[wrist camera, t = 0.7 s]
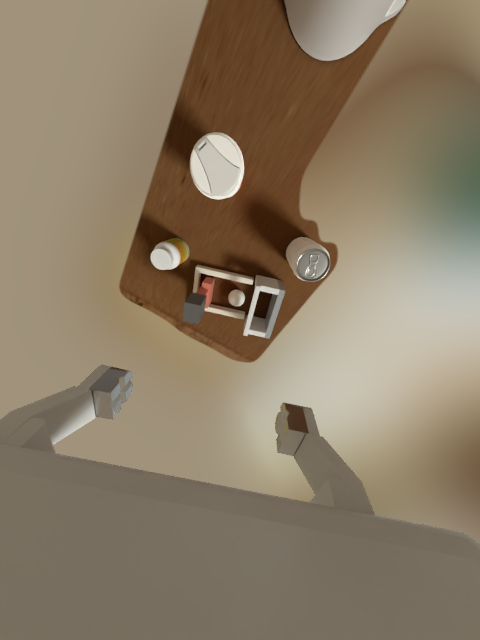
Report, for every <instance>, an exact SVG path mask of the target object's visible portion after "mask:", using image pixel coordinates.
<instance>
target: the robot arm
mask: <svg viewBox="0 0 480 640" xmlns="http://www.w3.org/2000/svg"><path fill="white" fill-rule="evenodd" d="M284 2H285V5H286V10H287V16H288V21H289V24H290V28H291V30H292V33H293V35H294V37H295V39H296V41H297V43H298V44H299V46H300V47H301V48H302V49H303V50H304V51H305V52H306V53H307V54H308V55H310V56H312V57H313V58H316V59H319V60H324V61H331V60H337V59H340V58H342V57H345V56H347V55H348V54H350V53H352V52H353V51H354V50H356V49H357V48H358V47H359V46H360V45H361V44H362V43H363V42H364V41H365V40H366V39H367V38H368V37H369V36H370V34H371V33H372V32H373V31H374V30H375V29H376V28H377V27H378V26H379V25H380V24H382V23H384V22H385V21H387V20H389V19H391V18H392V17H394V16H395V15H396V14H397V13H398V12H399V11H400V10H401V9H402V7H403V5H404V4H405V2H406V0H284ZM131 378H132V372H131V371H127V370H123V369H119V368H114V367H110V366H105V365H101V366H99V367H98V368H97V369H95V370H94V371H93V372H92V373H91V374H90V375H89V376H88V377H87V378H86V379H85V380H84V381H83V382H82V383H81V384H80V385H79V386H78V387H75V386H74V387H71V388H69V389H66V390H64V391H61V392H59V393H56V394H54V395H51V396H49V397H46V398H44V399H41V400H39V401H36V402H34V403H31V404H29V405H26V406H24V407H21V408H19V409H16V410H13V411H11V412H9V413H8V414H7V415H6V416H4V417H3V418H2V419H1V420H0V640H480V543H479V542H477V541H476V540H475V539H474V538H472V537H471V536H469V535H467V534H464V533H462V532H458V531H454V530H449V529H444V528H438V527H433V526H428V525H423V524H418V523H413V522H407V521H402V520H397V519H392V518H386V517H381V516H376V515H375V514H374V511H373V509H372V506H371V504H370V501H369V499H368V496H367V494H366V491H365V489H364V486H363V484H362V482H361V480H360V479H359V478H358V477H357V476H356V475H355V473H354V472H353V471H352V470H351V469H350V468H349V467H348V465H347V464H346V463H345V462H344V461H343V460H342V458H341V457H340V456H339V455H338V454H337V453H336V452H335V450H334V449H333V448H332V447H331V446H330V445H329V444H328V442H327V441H326V440H325V439H324V438H323V437H321V436H320V435H319V431H318V428H317V425H316V421H315V418H314V414H313V411H312V409H311V408H308V407H303V406H298V405H293V404H287V403H283V404H282V405H281V412H279V413H278V415H277V418H276V423H275V424H276V425H275V429H276V433H277V434H278V437H277V450H278V453H282V454H287V455H291V456H294V458H295V460H296V462H297V463H298V465H299V467H300V469H301V470H302V472H303V474H304V475H305V477H306V479H307V481H308V482H309V484H310V486H311V488H312V489H313V491H314V493H315V494H316V495H315V496H314V498H313V499H312V501H311V502H310V503H309V502H303V501H299V500H293V499H288V498H283V497H278V496H273V495H268V494H262V493H257V492H252V491H246V490H242V489H237V488H231V487H226V486H220V485H216V484H210V483H206V482H200V481H195V480H190V479H185V478H179V477H174V476H169V475H164V474H159V473H154V472H148V471H143V470H138V469H133V468H128V467H123V466H117V465H112V464H107V463H102V462H96V461H92V460H86V459H81V458H76V457H71V456H66V455H61V454H56V453H55V450H54V447H53V445H54V444H55V443H57V442H58V441H60V440H61V439H63V438H64V437H66V436H68V435H69V434H71V433H72V432H74V431H75V430H77V429H79V428H80V427H82V426H83V425H85V424H86V423H88V422H90V421H91V420H93V419H94V418H95V417H101V418H107V419H114V418H115V416H116V415H117V414H118V412H119V411H120V409H121V404H122V403H124V402H126V401H127V399H128V398H129V396H130V394H131V392H132V387H133V384H132V382H131V381H130V379H131Z"/></svg>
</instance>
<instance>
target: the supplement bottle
mask: <svg viewBox="0 0 480 640" xmlns="http://www.w3.org/2000/svg"><path fill="white" fill-rule="evenodd" d="M188 256H189V248H188V245H187V244H186V243H185V242H184V241H183V240H182V239H179V238H172V239H169V240H166V241H164V242H161V243H159V244H157V245H156V246H155V248H154V250H153V251H152V253H151V262H152V264H153V265H154V266H155V267H156V268H157V269H160V270H171V269H174V268H176V267H177V266H179V265H180V264H181V263H183V262H184V261H185V260H186V259H187V258H188Z"/></svg>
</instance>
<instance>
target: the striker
mask: <svg viewBox="0 0 480 640" xmlns="http://www.w3.org/2000/svg"><path fill="white" fill-rule="evenodd" d="M214 282H215V278H211V277H206V278H205V280H204V281H203V282H202V285H201V287H200V288H199V289H198V291H197V292H196V293H193V292H192V293H191V294H190V296H189V297H188V298H187V300H186V301H185V303H184V314H183V321H186V322H191V323H195V324H199V322H200V320H201V318H202V316H203V314H204V311H205V308H208V307H209V305H210V303H211V301H212V294H213V288H214Z"/></svg>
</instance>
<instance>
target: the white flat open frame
mask: <svg viewBox="0 0 480 640" xmlns="http://www.w3.org/2000/svg"><path fill="white" fill-rule="evenodd" d="M201 273H202V274H207V275H211V276H215V277H220V278H224V279H228V280H233V281H237V282H241V283H246V284H250V285H253V281H254V277H249V276H245V275H241V274H236V273H232V272H228V271H223V270H219V269H215V268H210V267H206V266H202V265H197V266H196V268H195V277H194V286H193V293H196V292H197V291H198V289H199V286H200V278H201ZM205 311H209V312H213V313H218V314H222V315H227V316H231V317H235V318H240V319H244V317H245V312H244V311H240V310H236V309H231V308H227V307H222V306H218V305H213V304H210V305H209V307H208V308H205Z"/></svg>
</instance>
